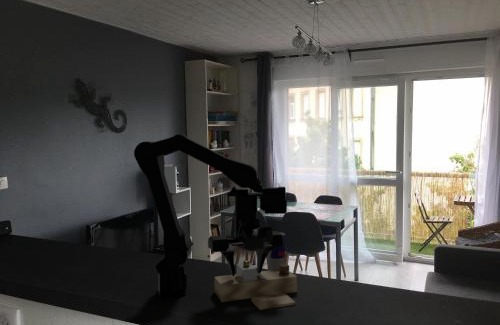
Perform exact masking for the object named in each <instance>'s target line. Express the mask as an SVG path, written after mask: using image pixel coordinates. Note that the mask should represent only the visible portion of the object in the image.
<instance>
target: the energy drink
mask: <svg viewBox="0 0 500 325" xmlns="http://www.w3.org/2000/svg"><path fill="white" fill-rule="evenodd" d="M277 232H278V233H280V234H281V235H282V236H283V238H284V245H283V246H276V247H275V249H274V250H271V251H270V252H269V253H268V255H267V271H270V270H278V269H279V265H282V264H286V265H287V236H286V233H285V232H280V231H277Z"/></svg>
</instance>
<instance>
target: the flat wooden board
mask: <svg viewBox="0 0 500 325" xmlns="http://www.w3.org/2000/svg"><path fill="white" fill-rule="evenodd" d="M250 301H251V302H252V303H253V304H254V305H255V307H256V308H257V309H258V310H259V311H263V310H267V309H268V310H270V309H275V308H282V307H290V306H296V301H295V300H294V299H292V298H291V297H290V296H289V295H287V293H285V294H277V295H270V296H262V297H255V298H250Z"/></svg>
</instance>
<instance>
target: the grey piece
mask: <svg viewBox="0 0 500 325" xmlns="http://www.w3.org/2000/svg"><path fill="white" fill-rule="evenodd" d="M257 272H258V270H257V267H255V265H253V264H252V263H251V262H250V260H243V261H242V263H241V262H240V263H236V274H237V276H238V277H239V278H240V279H241V280H242V281H243V282H247V281H255V280H257Z"/></svg>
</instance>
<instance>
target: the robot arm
mask: <svg viewBox="0 0 500 325" xmlns="http://www.w3.org/2000/svg"><path fill="white" fill-rule="evenodd" d="M177 152H182V153H183V154H186V155H188V156H189V157H192V158H194V159H196V160H197V161H200V162H202V163H203V164H205V165H207V166H209V167H211V168H213V169H215V170H217V171H219V172H220V173H221V174H223V175H224V177H226V178H228V180H230V181H231V182H233V184H236V186H238V187H240V188H241V189H239V188H237V187H236V186H234V185H233V186H232V187H231V189H230V191H228V192H227V194H226V196H227V197H234V216H233V221H234V231H233V238H232V237H231V238H227V237H226V236H225V235H223V234H222V235H210V236H209V238H208V239H207V248H208V249H209V250H210V251H211V252H213V253H221V255H223V256H224V258H225V260H226V262H227V265H228V268H229V271H230V273H231V274H230V275H232V276H235V274H236V269H235V258H234V256H235V251H234V250H233V247H234V246H235V247H236V246H244V248H245V249H246V250H248V251H253V250H256V268H257V272H258V273H261V271H263V267H264V264H265V262H266V259H267V258H268V253H269V252H270V251H271V250H274V249H275V247H276V246H283V245H284V238H283V236H282V235H281V234H280V233H278V232H279V231H275V230H273V228H272V226H266V227H265V226H264V227H261V225H260V219H259V218H258V197H259V210H260V211H262V212H264V214H265V215H269V214H270V215H272V214H273V215H274V214H275V215H278V214H279V215H284V214H285V215H287V212H288V201H287V200H288V199H287V192H286V190H287V188H286V186H276V187H275V186H274V187H271V186H269V187H267V186H266V187H265V186H264V183H262V182H261V180H260V179H259V178H258V171H257V169H256V167H255V166H253V164H249V163H247V162H243V161H240V160H237V159H234V158H229V157H226V156H224V155H222V154H220V153H219V152H218V151H215V150H212V148H210V147H209V148H208V147H207V146H204V145H203V144H201V143H199V142H197V141H196V140H193V139H192V138H189V137H188V136H187V135H185V134H175V135H173V136H171V137H167V138H164V139H159V140H156V141H149V140H148V141H142V142H140V143H138V144H137V145H136V146H135V148H134V150H133V157H134V159H135V161H136V163H137V165H138V167H139V169H140V171H142V173H143V175H144V176H145V177H146V179H147V180H148V184H149V188H150V191H151V194H152V199H153V202H154V205H155V209H156V211H157V214H158V219H159V221H160V224H161V229H162V232H163V240H162V242H163V243H162V244H163V254H164V256H162V258H161V259H160V260H159V261H158V262H157V263H156V265H155V270H156V271H157V274H158V276H157V277H158V278H157V279H158V284H157V285H158V287H157V293H158V296H159V298H163V299H164V298H168V297H169V298H170V297H177V296H186V295H187V291H186V290H187V281H188V280H187V273H186V272H185V268H184V266H183V265H184V264H185V263H186V262H187V260H188V258H189V257H190V255H191V254H192V252H193V246H194V242H193V241H192V239H191V233H190V230H188V229H187V230H186V231H184V229H183V228H182V227H181V225H180V223H179V218H178V215H177V212H176V209H175V206H174V205H175V204H174V201H173V198H172V196H171V192H170V188H169V185H168V181H167V179H166V176H165V175H166V174H165V166H166V165H165V163H166V162H165V156H168V155H171V154H174V153H177ZM249 190H251V191H252V192H249Z"/></svg>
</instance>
